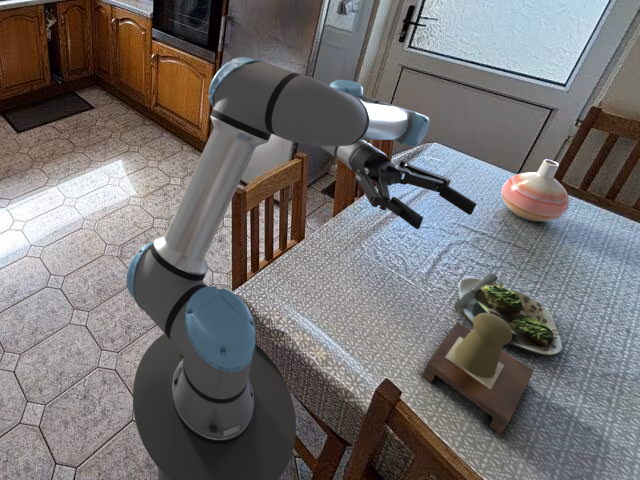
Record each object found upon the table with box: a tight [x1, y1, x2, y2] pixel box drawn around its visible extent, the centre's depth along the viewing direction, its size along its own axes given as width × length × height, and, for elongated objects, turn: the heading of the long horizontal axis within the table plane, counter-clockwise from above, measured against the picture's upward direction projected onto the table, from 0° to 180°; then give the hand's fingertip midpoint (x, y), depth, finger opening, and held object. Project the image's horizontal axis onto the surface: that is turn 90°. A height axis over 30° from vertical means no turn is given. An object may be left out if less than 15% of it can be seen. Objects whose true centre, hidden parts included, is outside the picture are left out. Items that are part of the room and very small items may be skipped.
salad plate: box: [453, 272, 564, 359], centre depth 89 cm, size 19×18×5 cm
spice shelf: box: [421, 321, 535, 435], centre depth 77 cm, size 12×14×4 cm
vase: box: [500, 159, 570, 222], centre depth 114 cm, size 14×14×18 cm
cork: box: [455, 313, 512, 378], centre depth 74 cm, size 6×6×11 cm
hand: (447, 216), depth 80 cm, fingers open, 13 cm apart
